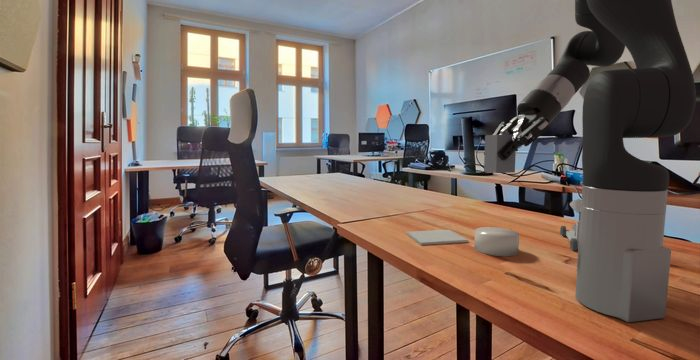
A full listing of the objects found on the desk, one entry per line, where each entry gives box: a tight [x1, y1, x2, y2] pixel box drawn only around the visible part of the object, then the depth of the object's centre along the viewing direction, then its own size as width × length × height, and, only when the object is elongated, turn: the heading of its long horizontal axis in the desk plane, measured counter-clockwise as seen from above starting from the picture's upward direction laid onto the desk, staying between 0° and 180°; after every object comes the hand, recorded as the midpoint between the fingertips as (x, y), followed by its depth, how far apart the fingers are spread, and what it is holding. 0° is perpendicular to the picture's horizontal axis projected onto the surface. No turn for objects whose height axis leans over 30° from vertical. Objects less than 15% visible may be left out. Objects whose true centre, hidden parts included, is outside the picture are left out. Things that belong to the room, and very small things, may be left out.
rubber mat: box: [405, 228, 469, 246], centre depth 83 cm, size 10×12×1 cm
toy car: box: [559, 198, 582, 252], centre depth 78 cm, size 18×10×12 cm
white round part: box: [473, 226, 520, 257], centre depth 74 cm, size 9×9×4 cm
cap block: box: [483, 134, 517, 174], centre depth 72 cm, size 4×4×8 cm
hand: (493, 156), depth 71 cm, fingers closed on cap block, 4 cm apart
